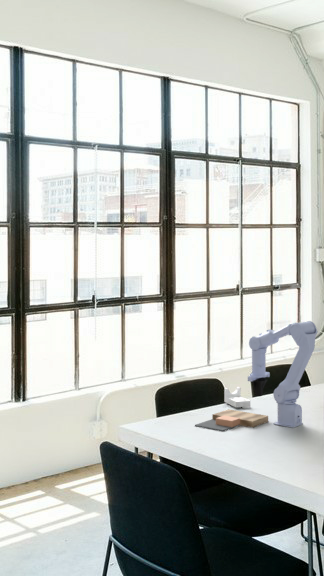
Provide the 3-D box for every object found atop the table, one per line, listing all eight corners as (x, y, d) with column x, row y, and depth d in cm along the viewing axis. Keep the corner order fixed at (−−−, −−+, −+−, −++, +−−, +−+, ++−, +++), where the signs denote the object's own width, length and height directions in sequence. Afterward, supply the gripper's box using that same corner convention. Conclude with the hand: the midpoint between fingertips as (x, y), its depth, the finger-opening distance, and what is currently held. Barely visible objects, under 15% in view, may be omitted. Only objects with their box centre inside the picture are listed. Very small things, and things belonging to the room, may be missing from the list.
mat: (239, 425, 277) (239, 424, 277) (223, 431, 268) (223, 430, 268) (212, 420, 286) (212, 419, 286) (194, 426, 277) (194, 424, 277)
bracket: (224, 403, 319) (224, 387, 318) (238, 402, 321) (238, 386, 321) (236, 409, 306) (236, 393, 306) (250, 408, 309) (250, 391, 308)
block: (240, 424, 277) (240, 418, 277) (231, 427, 272) (231, 421, 272) (224, 421, 282) (224, 415, 282) (215, 424, 277) (215, 418, 277)
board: (268, 421, 282) (268, 415, 282) (252, 427, 273) (252, 421, 273) (228, 414, 295) (228, 409, 295) (212, 420, 286) (212, 414, 286)
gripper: (259, 361, 297) (259, 391, 298) (241, 365, 286) (241, 397, 286) (273, 362, 292) (273, 393, 293) (255, 367, 281) (255, 399, 282)
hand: (258, 395), depth 289 cm, fingers closed
